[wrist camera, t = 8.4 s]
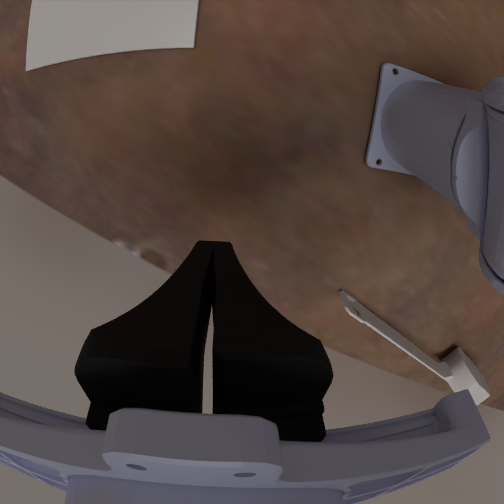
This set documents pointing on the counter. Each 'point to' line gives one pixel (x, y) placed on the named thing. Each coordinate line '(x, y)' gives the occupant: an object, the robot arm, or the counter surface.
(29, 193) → the counter surface
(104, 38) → the board
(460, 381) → the white long handled piece
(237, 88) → the counter surface
